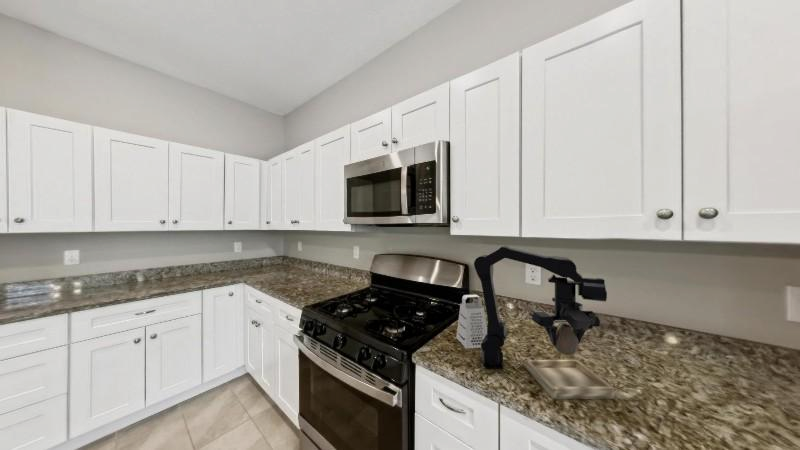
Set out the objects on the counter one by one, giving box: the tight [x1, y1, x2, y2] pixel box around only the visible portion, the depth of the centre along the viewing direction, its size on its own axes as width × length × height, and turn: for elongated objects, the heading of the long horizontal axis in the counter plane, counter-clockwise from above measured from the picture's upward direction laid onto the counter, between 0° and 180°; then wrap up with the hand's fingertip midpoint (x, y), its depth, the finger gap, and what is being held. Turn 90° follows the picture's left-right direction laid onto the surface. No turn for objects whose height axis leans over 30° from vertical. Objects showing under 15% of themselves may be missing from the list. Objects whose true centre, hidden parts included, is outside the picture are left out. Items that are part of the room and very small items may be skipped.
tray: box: [525, 359, 616, 400], centre depth 82 cm, size 18×16×3 cm
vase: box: [553, 323, 580, 357], centre depth 82 cm, size 7×7×9 cm
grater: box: [455, 294, 488, 350], centre depth 111 cm, size 10×10×20 cm
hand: (565, 345), depth 82 cm, fingers closed on vase, 7 cm apart
